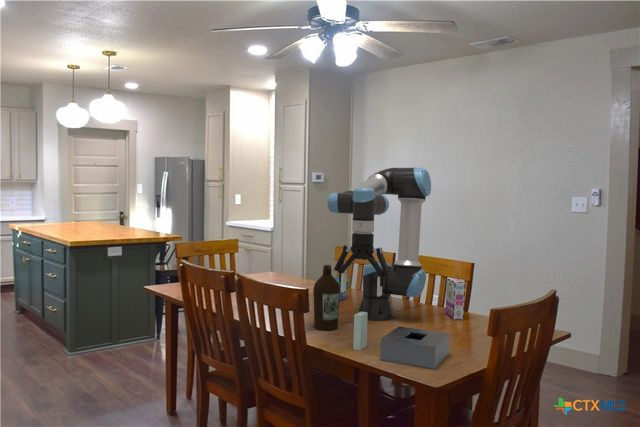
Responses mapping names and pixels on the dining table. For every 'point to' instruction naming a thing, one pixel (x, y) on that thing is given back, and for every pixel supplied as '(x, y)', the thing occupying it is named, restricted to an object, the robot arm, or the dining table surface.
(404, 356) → the grey slotted box
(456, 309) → the candy bar box
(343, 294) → the snack cup
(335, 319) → the olive oil
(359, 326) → the pale green flat block
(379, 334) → the dining table surface
